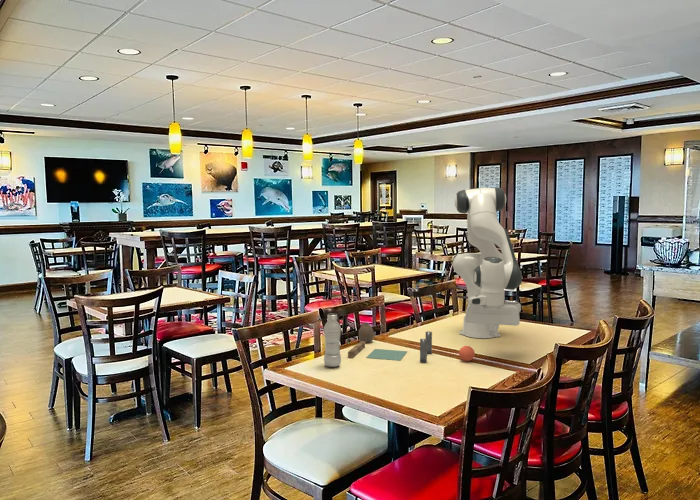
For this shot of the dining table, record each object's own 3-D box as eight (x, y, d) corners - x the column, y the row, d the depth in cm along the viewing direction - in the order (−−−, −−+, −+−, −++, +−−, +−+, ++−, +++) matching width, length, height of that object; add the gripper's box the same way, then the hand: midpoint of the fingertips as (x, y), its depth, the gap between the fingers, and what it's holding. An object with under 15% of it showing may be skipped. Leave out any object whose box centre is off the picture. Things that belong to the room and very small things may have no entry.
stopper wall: (360, 346, 226) (360, 341, 226) (365, 347, 226) (364, 341, 226) (348, 357, 209) (347, 351, 209) (352, 358, 209) (352, 352, 209)
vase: (372, 344, 231) (372, 324, 230) (357, 343, 232) (357, 324, 232) (374, 340, 238) (374, 321, 237) (360, 340, 239) (359, 321, 238)
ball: (459, 358, 208) (459, 343, 207) (475, 359, 206) (475, 344, 206) (458, 362, 202) (458, 347, 202) (474, 363, 200) (474, 348, 200)
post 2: (425, 352, 217) (426, 331, 216) (432, 353, 216) (432, 331, 215) (424, 354, 214) (425, 332, 214) (431, 354, 213) (431, 333, 213)
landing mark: (374, 349, 222) (374, 348, 222) (407, 351, 218) (407, 351, 218) (366, 357, 209) (366, 357, 209) (400, 360, 205) (400, 360, 205)
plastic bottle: (332, 363, 202) (332, 312, 201) (344, 366, 197) (344, 314, 196) (320, 366, 198) (319, 314, 196) (332, 370, 193) (331, 316, 192)
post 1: (420, 361, 204) (420, 338, 204) (427, 361, 203) (427, 338, 203) (419, 362, 202) (419, 340, 201) (426, 363, 201) (426, 340, 200)
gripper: (521, 299, 199) (520, 335, 200) (466, 297, 205) (465, 332, 206) (521, 302, 193) (520, 339, 194) (464, 299, 199) (464, 335, 200)
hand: (491, 335), depth 200 cm, fingers closed
